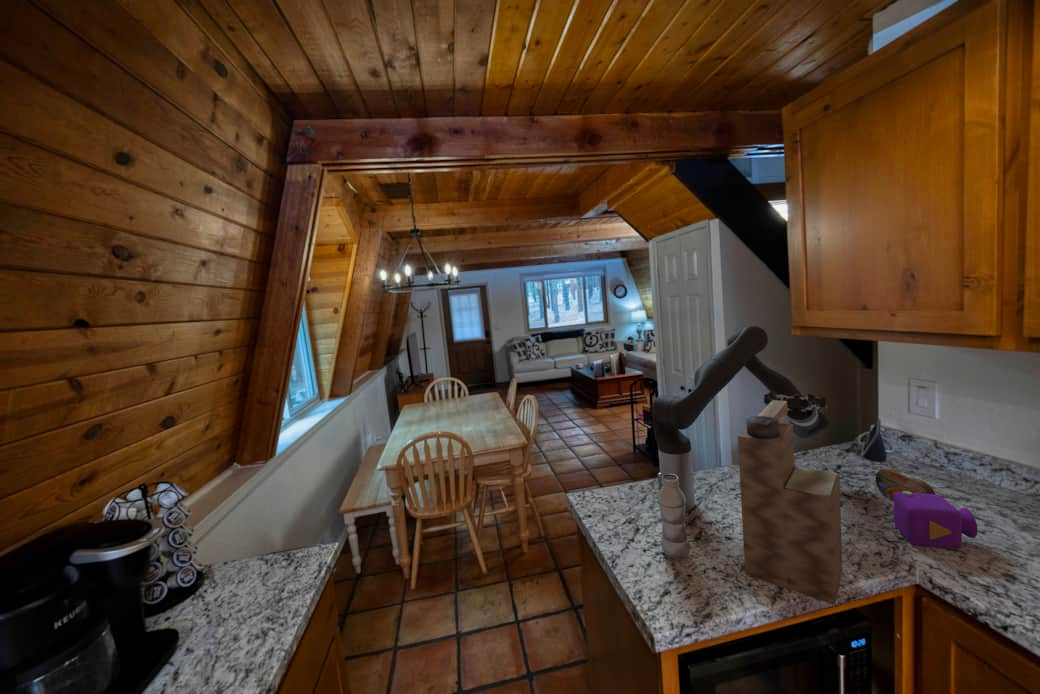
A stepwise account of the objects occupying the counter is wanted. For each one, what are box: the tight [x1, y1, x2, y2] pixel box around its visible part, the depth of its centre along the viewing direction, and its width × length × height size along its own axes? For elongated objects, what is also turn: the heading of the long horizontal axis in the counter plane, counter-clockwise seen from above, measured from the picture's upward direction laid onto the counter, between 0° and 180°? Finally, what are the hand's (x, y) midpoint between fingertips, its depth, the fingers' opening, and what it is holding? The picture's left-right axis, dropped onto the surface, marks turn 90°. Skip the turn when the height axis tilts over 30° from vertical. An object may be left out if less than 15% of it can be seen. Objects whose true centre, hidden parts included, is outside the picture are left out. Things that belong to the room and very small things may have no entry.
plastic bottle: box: [657, 474, 691, 561], centre depth 99 cm, size 6×7×20 cm
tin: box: [875, 468, 937, 502], centre depth 110 cm, size 15×3×8 cm, turn 1°
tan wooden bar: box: [745, 400, 788, 439], centre depth 92 cm, size 6×20×3 cm, turn 137°
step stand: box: [737, 422, 843, 606], centre depth 88 cm, size 16×12×32 cm
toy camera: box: [893, 491, 978, 550], centre depth 95 cm, size 11×14×10 cm
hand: (790, 395), depth 108 cm, fingers open, 8 cm apart
